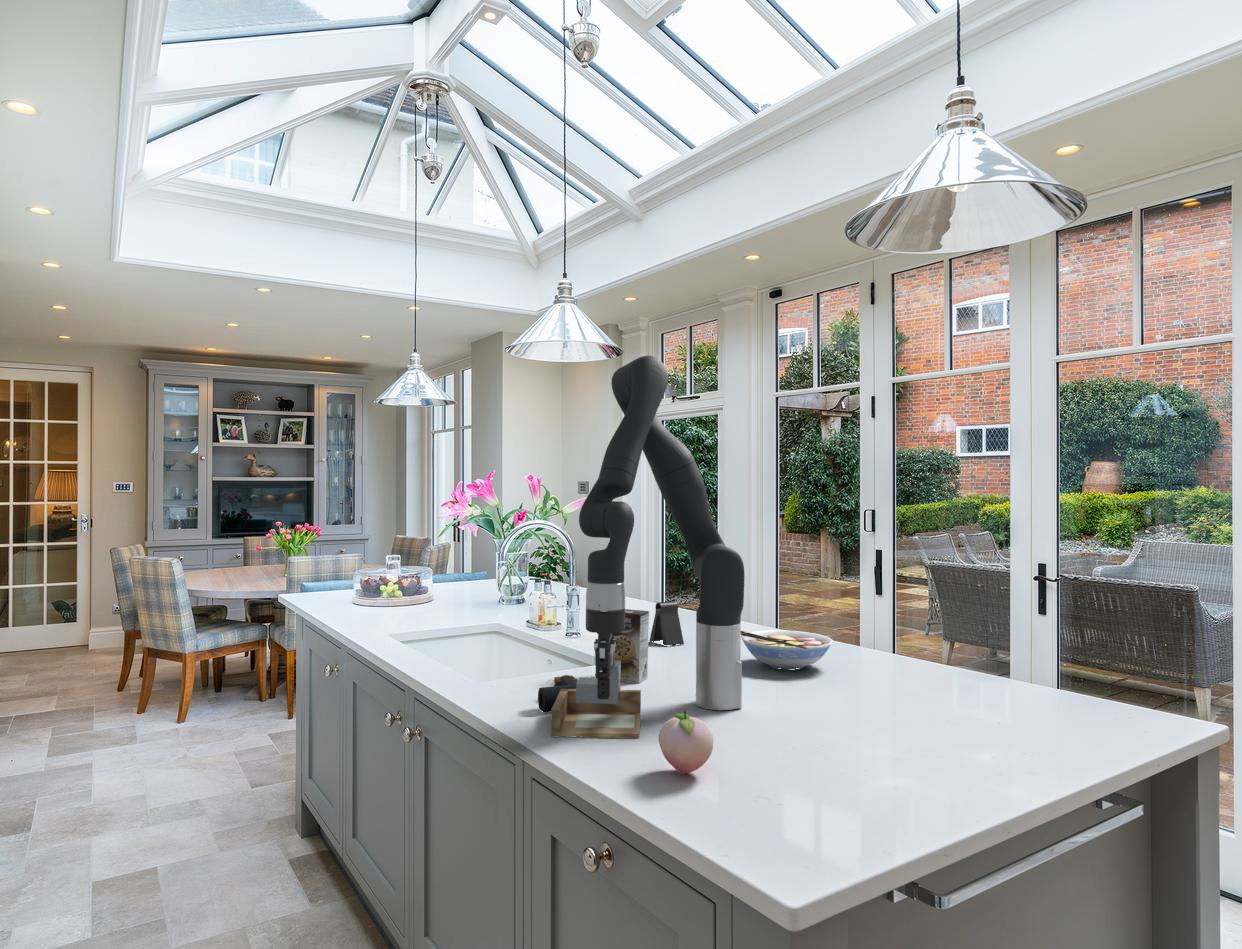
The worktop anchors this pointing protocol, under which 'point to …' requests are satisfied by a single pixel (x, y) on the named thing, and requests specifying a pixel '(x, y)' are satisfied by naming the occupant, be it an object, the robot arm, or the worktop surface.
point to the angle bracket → (588, 687)
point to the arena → (596, 716)
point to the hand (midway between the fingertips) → (604, 694)
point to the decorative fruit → (685, 742)
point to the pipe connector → (554, 691)
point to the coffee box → (633, 646)
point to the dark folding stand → (667, 624)
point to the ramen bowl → (786, 647)
